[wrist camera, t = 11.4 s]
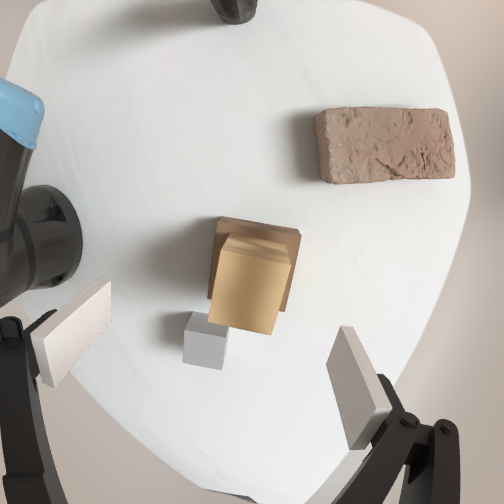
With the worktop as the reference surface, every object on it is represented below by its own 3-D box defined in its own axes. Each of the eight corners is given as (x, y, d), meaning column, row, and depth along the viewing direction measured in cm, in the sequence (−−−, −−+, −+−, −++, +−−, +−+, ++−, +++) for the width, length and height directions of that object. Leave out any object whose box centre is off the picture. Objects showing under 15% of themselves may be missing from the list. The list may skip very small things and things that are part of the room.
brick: (320, 184, 34) (329, 186, 29) (311, 114, 32) (318, 106, 27) (439, 176, 32) (458, 178, 28) (431, 113, 30) (450, 108, 26)
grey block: (191, 342, 40) (182, 362, 35) (193, 311, 39) (184, 329, 34) (226, 348, 40) (221, 370, 35) (230, 317, 39) (226, 337, 34)
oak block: (218, 291, 34) (207, 321, 27) (230, 232, 32) (221, 249, 25) (270, 303, 34) (271, 335, 27) (286, 244, 32) (291, 265, 25)
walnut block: (212, 285, 38) (207, 298, 34) (222, 215, 35) (217, 221, 32) (282, 297, 38) (284, 311, 34) (297, 228, 35) (301, 236, 32)
